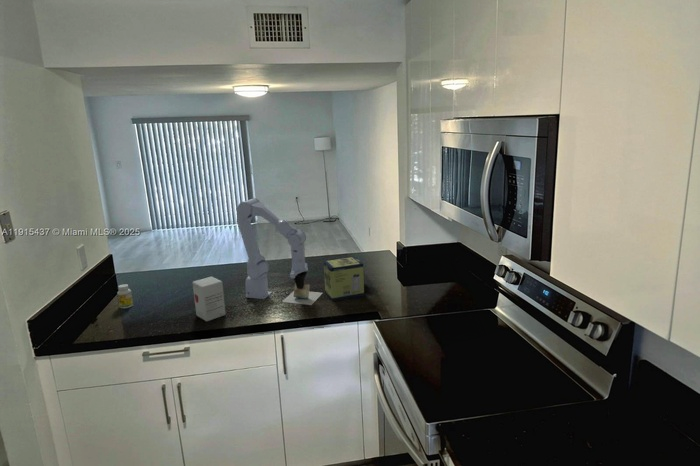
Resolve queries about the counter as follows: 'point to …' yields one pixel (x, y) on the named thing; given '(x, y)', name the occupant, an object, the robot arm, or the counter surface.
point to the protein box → (344, 278)
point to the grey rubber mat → (309, 301)
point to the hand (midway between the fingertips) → (300, 288)
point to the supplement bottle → (124, 296)
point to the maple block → (302, 291)
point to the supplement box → (209, 298)
